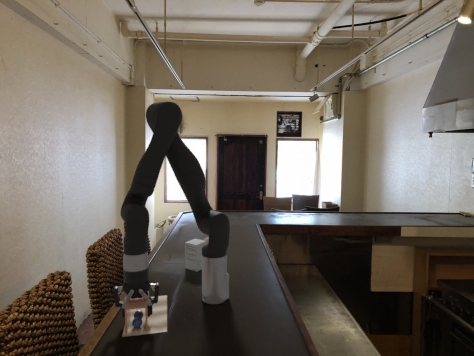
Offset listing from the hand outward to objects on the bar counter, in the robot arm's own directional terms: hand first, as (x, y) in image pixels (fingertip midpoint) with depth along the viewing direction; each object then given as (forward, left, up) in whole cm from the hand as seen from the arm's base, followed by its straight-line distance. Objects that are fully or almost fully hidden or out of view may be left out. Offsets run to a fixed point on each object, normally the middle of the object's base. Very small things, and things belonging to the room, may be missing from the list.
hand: (137, 316), depth 102 cm
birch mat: (-4, -4, -3) cm, 7 cm away
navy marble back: (-1, -2, -1) cm, 2 cm away
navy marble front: (+1, +2, -1) cm, 2 cm away
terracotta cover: (0, 0, -2) cm, 2 cm away
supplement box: (-36, -34, -3) cm, 50 cm away
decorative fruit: (-51, -48, -3) cm, 71 cm away
